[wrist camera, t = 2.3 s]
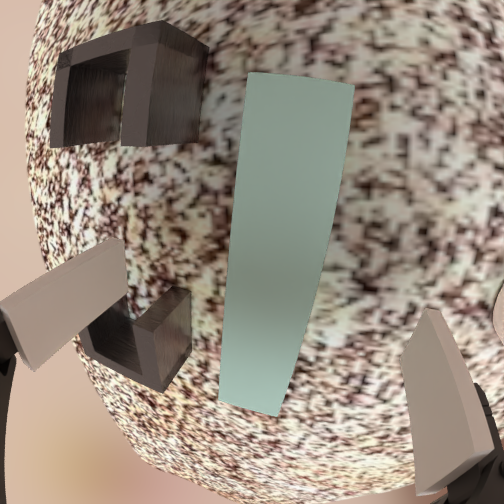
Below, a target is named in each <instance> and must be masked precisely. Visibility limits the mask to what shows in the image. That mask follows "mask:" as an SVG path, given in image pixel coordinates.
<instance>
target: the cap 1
mask: <svg viewBox="0 0 504 504" xmlns="http://www.w3.org/2000/svg"><path fill="white" fill-rule="evenodd" d="M208 51H209V47H208V46H206V45H204V44H203V43H201V42H200V41H198V40H196V39H195V38H193V37H191V36H190V35H188V34H186V33H185V32H183V31H181V30H179V29H178V28H176V27H174V26H172V25H171V24H169V23H167V22H165V21H163V20H161V21H156V22H151V23H147V24H143V25H139V26H135V27H131V28H128V29H124V30H121V31H118V32H114V33H111V34H108V35H105V36H102V37H99V38H96V39H94V40H91V41H88V42H86V43H83V44H81V45H78V46H76V47H73V48H71V49H68V50H66V51H64V52H62V53H59V58H58V64H57V69H56V76H55V83H54V91H53V100H52V111H51V127H50V148H62V147H69V146H75V145H82V144H90V143H97V142H106V141H116V140H119V128H120V115H121V104H122V94H123V86H124V78H125V74H127V80H126V88H125V96H124V106H123V118H122V132H121V146H139V147H148V146H158V145H170V144H183V143H198V132H199V122H200V112H201V103H202V95H203V87H204V79H205V71H206V64H207V57H208Z"/></svg>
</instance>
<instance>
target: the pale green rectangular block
mask: <svg viewBox="0 0 504 504" xmlns="http://www.w3.org/2000/svg"><path fill="white" fill-rule="evenodd" d="M354 89H355V85H352V84H347V83H342V82H336V81H330V80H324V79H318V78H311V77H303V76H295V75H285V74H273V73H258V72H248V78H247V86H246V94H245V102H244V110H243V119H242V127H241V136H240V145H239V154H238V163H237V173H236V182H235V192H234V202H233V212H232V223H231V234H230V245H229V256H228V268H227V280H226V293H225V306H224V319H223V333H222V348H221V364H220V381H219V399H218V400H219V401H222V402H226V403H229V404H232V405H235V406H239V407H242V408H245V409H249V410H252V411H256V412H260V413H264V414H268V415H272V416H276V417H277V416H278V413H279V411H280V408H281V405H282V402H283V399H284V396H285V394H286V391H287V388H288V385H289V382H290V379H291V376H292V373H293V370H294V367H295V363H296V360H297V357H298V354H299V351H300V347H301V344H302V341H303V338H304V334H305V331H306V327H307V324H308V320H309V317H310V313H311V310H312V306H313V302H314V299H315V295H316V291H317V287H318V284H319V280H320V276H321V272H322V268H323V264H324V259H325V255H326V251H327V247H328V242H329V238H330V233H331V229H332V224H333V219H334V215H335V210H336V205H337V200H338V195H339V189H340V184H341V178H342V173H343V167H344V161H345V155H346V149H347V142H348V136H349V129H350V122H351V114H352V106H353V98H354Z"/></svg>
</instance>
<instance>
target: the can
mask: <svg viewBox="0 0 504 504" xmlns="http://www.w3.org/2000/svg"><path fill="white" fill-rule="evenodd" d="M493 325H494V328H495V331H496V333H497V334H498V336H499V338H500V340H501V341H502V343H503V345H504V284H503V286H502V287H501V289H500V291H499V294H498V296H497V299H496V302H495V306H494V311H493Z"/></svg>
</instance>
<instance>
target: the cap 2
mask: <svg viewBox="0 0 504 504" xmlns="http://www.w3.org/2000/svg"><path fill="white" fill-rule="evenodd" d="M78 334H79V337H80V340H81V343H82V346H83V349H84V351H85V354H86V355H88V356H89V357H91V358H93V359H94V360H96V361H98V362H100V363H101V364H103V365H105V366H107V367H109V368H111V369H112V370H114V371H116V372H118V373H120V374H122V375H124V376H126V377H128V378H130V379H132V380H134V381H136V382H138V383H140V384H142V385H144V386H147V387H149V388H151V389H153V390H155V391H158V392H160V393H162V394H163V393H164V391H165V390H166V389H167V387H168V386H169V384H170V383H171V381H172V380H173V378H174V377H175V375H176V374H177V372H178V371H179V370H180V368H181V367H182V365H183V364H184V362H185V361H186V359H187V358H188V356H189V355H190V353H191V352H192V344H191V291H188V290H185V289H181V288H178V287H174V286H172V287H171V288H170V289H169V290H168V291H167V292H165V293H164V294H163V295H162V296H161V297H160V298H159V299H158V300H157V301H156V302H155V303H154V304H153V305H152V306H151V307H150V308H149V309H148V310H147V311H146V312H145V313H144V314H143V315H142V316H141V317H139V318H138V319H137V320H133V319H131V318H129V312H128V306H127V299H126V294H125V295H124V296H123V297H122V298H120V299H119V300H118V301H117V302H115V303H114V304H113V305H112V306H110V307H109V308H108V309H107V310H106V311H104V312H103V313H102V314H101V315H99V316H98V317H97V318H96V319H95V320H93V321H92V322H91V323H90V324H89V325H87V326H86V327H85V328H84V329H83V330H82V331H80V332H79V333H78Z"/></svg>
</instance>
